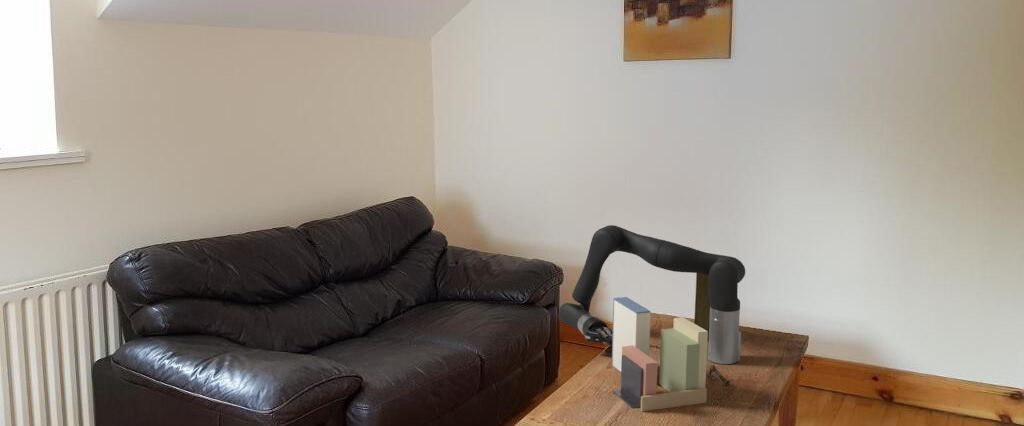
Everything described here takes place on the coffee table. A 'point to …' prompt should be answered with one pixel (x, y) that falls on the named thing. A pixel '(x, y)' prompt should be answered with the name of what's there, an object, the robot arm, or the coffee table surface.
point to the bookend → (630, 383)
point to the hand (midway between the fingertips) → (614, 343)
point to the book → (702, 302)
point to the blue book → (629, 328)
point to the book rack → (674, 367)
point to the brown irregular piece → (717, 375)
